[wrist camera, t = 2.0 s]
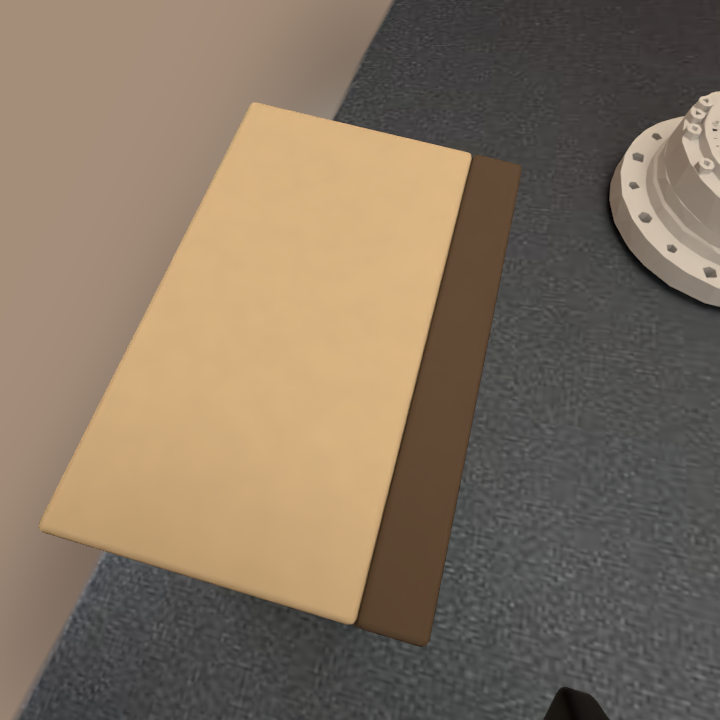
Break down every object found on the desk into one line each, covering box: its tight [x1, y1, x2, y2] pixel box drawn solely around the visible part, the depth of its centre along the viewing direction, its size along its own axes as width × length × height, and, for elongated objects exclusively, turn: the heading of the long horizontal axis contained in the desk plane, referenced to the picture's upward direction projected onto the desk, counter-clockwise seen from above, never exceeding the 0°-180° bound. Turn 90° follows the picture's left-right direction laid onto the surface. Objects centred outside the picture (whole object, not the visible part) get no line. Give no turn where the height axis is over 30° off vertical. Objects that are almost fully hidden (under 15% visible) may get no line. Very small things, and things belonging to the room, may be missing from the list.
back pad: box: [39, 103, 522, 647], centre depth 13 cm, size 4×7×13 cm, turn 165°
